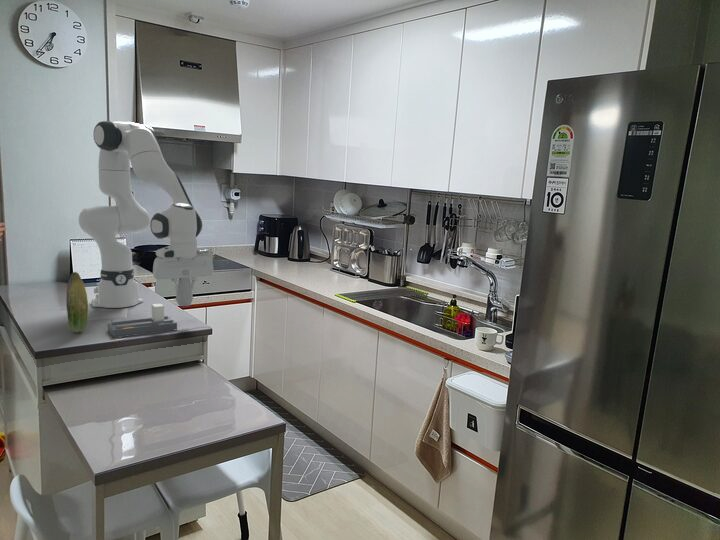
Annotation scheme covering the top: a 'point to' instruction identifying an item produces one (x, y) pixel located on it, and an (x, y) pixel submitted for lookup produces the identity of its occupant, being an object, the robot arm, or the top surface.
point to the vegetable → (76, 303)
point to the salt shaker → (184, 291)
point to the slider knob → (157, 312)
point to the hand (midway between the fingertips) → (184, 290)
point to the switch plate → (140, 326)
